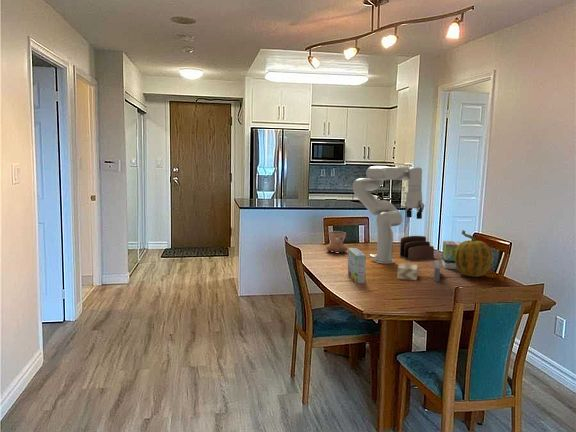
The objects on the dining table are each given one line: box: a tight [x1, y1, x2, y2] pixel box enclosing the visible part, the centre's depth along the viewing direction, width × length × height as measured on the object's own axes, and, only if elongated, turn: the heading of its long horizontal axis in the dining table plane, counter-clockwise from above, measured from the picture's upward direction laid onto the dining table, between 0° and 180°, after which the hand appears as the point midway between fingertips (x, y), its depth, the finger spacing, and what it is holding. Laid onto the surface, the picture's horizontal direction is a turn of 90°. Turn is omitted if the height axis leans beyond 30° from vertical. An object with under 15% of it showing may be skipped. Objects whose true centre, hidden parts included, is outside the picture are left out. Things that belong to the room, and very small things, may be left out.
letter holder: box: [399, 235, 435, 261], centre depth 312 cm, size 10×20×14 cm, turn 110°
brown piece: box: [326, 230, 348, 253], centre depth 329 cm, size 18×14×14 cm
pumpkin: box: [455, 229, 493, 278], centre depth 261 cm, size 19×19×25 cm
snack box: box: [347, 247, 367, 285], centre depth 253 cm, size 21×6×15 cm, turn 5°
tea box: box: [441, 240, 461, 270], centre depth 286 cm, size 15×10×15 cm, turn 168°
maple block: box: [396, 263, 419, 281], centre depth 259 cm, size 10×12×6 cm
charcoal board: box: [433, 259, 441, 283], centre depth 259 cm, size 2×22×7 cm, turn 163°
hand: (414, 217), depth 277 cm, fingers open, 9 cm apart
